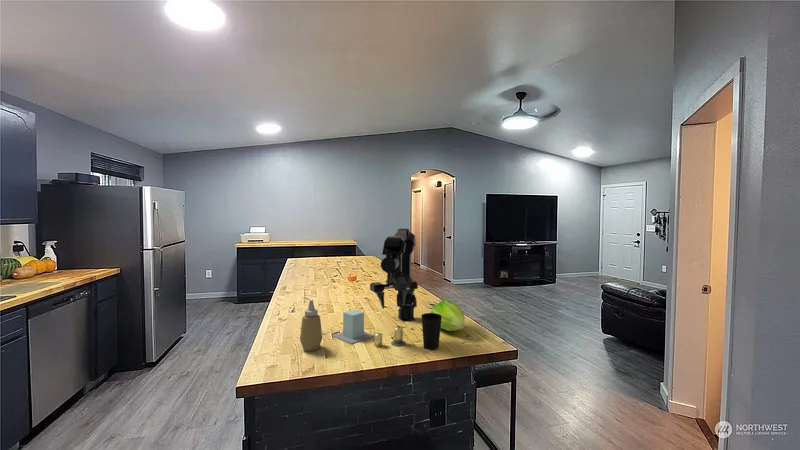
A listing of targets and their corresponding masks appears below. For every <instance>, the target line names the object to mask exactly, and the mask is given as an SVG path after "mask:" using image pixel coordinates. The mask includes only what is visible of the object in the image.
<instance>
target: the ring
mask: <svg viewBox="0 0 800 450" xmlns="http://www.w3.org/2000/svg"><path fill="white" fill-rule="evenodd" d="M390 344H391V345H392V346H393V347H403V346H405V345H406V344H407V343H406V341H405V340H403V344H395V343H394V340H393V341H392V340H391V343H390Z"/></svg>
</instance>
